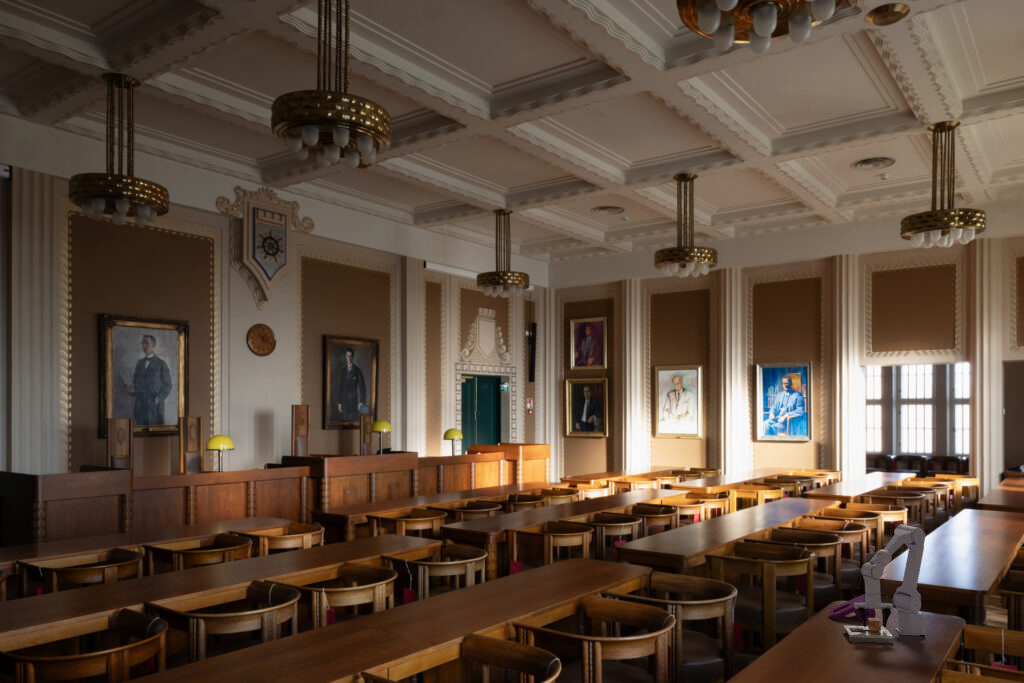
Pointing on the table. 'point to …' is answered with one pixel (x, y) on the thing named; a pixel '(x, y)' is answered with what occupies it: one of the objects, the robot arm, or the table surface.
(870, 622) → the keyhole peg
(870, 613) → the mounting bracket
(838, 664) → the table surface
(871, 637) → the keyhole plate
